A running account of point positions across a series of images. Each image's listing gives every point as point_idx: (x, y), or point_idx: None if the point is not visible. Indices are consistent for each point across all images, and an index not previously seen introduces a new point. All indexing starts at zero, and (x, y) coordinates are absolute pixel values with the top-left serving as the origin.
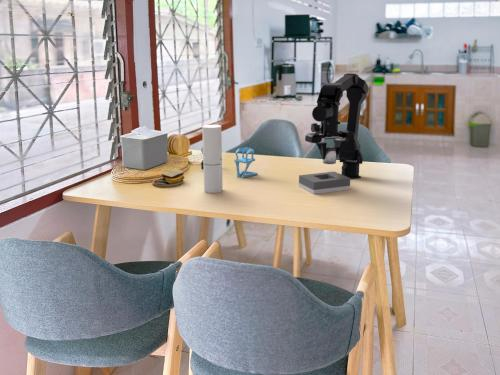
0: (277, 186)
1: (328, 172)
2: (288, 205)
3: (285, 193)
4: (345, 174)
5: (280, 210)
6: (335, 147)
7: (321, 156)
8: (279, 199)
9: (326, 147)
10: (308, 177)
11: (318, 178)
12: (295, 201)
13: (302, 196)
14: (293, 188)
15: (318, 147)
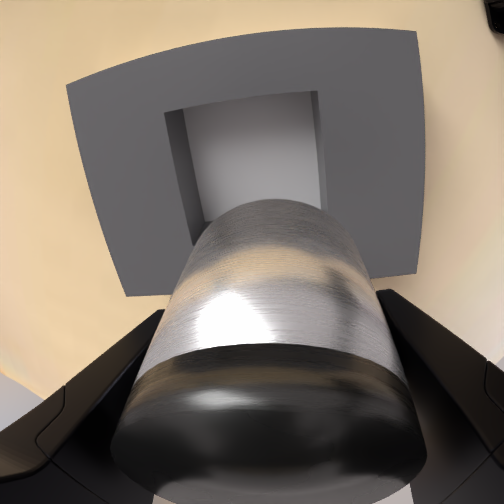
0: (15, 76)
1: (352, 38)
2: (53, 347)
3: (32, 210)
4: (495, 2)
5: (41, 369)
6: (374, 496)
7: (134, 331)
8: (20, 283)
9: (184, 478)
10: (113, 164)
11: (180, 213)
12: (70, 323)
13: (96, 276)
14: (71, 123)
15: (21, 432)
